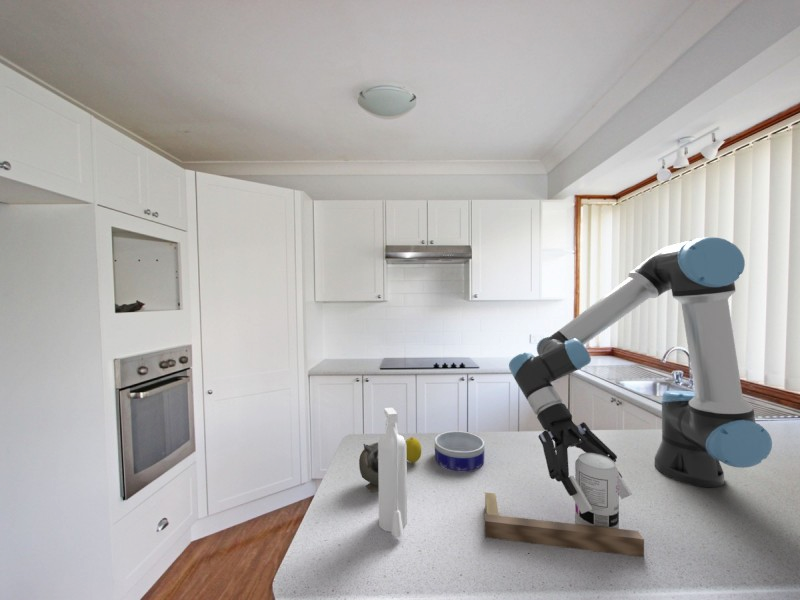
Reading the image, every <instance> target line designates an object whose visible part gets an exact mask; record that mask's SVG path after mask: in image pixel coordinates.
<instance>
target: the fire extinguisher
mask: <svg viewBox="0 0 800 600" xmlns="http://www.w3.org/2000/svg"><path fill="white" fill-rule="evenodd" d="M383 409H384V415H385V418H386V421H385V434H384V435H382V436H380V438H379V440H378V478H379V493H378V524H379V527H380V528H381V529H382V530H383V531H385V532H390V533H391V535H392V536H396V537H401V536H402V535H403V534H404V532H405V531H404V529H405V528H406V526H407V525H408V486H407V485H408V473H407V471H408V470H407V466H408V464H407V463H408V462H407V445H406V442H405V441H406V440H405V438H404V436H403V435H401V434H399V433H398V426H397V423H399V419H398V413H397V411H396V410H395V409H394V407H384V408H383Z"/></svg>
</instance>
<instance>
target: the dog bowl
mask: <svg viewBox="0 0 800 600" xmlns="http://www.w3.org/2000/svg"><path fill="white" fill-rule="evenodd" d="M485 445H486V443H485V441H484V439H483V438H482V437H480V436H478V435H476V434H474V433H471V432H467V431H460V430H451V431H450V430H449V431H446V432H445V431H444V432H442V433H439V434H438V435H436V436H435V438H434V457H435V459H434V460H435V462H436V463H437V464H438V465H439V466H440V467H442V468H443V469H447V470H449V471H453V472H461V473H462V472H463V473H465V472H473V471H477V470H479V469H481V468H482V467H483V466H484V464H485V447H486V446H485Z"/></svg>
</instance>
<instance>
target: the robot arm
mask: <svg viewBox="0 0 800 600" xmlns="http://www.w3.org/2000/svg"><path fill="white" fill-rule="evenodd" d="M745 266H746V263H745V257H744V254H743V253H742V251H741V249H740V248H739V247H738V246H737V245H736V244H734V242H730V241H729V240H727V239H725V238H721V237H713V236H712V237H700V238H699V237H698V238H695V239H690V240H687V241H684V242H683V241H682V242H680V243H676V244H675V243H674V244H671V245H667V246H665V247H663V248H661V249H659V250H658V251H656V252H655V253H654V254H652V255H651V256H649V257H648V258H647V259H645V261H643V262H642V263H640V265H637V267H635V268H634V269H632V270H631V271H630V272H629V273H628V278H627V279H626V280H624V281H623V282H621V283H620V284H619V285H618V286H616V287H614V288H613V289H612V290H611V291H609V292H608V293H606V294H605V295H604V296H603V297H602V298H600V299H599V300H598V301H596V302H595V303H593V304H592V305H591V306H589V307H587V309H585V310H584V311H583V312H581V313H580V314H578V315H577V316H576V317H575V318H573V319H571V320H570V321H569V322H567V323H566V325H564V326H562V327H561V328H560V329H558V330H557V331H555V332H554V333H553V334H552V335H550V336H546V337H543V338H541V339H540V340H539V341H538V343H537V345H536V353H537V354H538V355H536V356H535V355H533V354H532V353H531V352H527V351H526V352H523V353H519V354H517V355H515V356H514V357H513V358H512V359H511V360H509V364H508V368H509V371H510V373H511V374H512V376H513V379H514V380H515V383H516V384H517V385H518V387H519V388H520V390H521V392H522V394H523V395H524V397H525V399H526V400H527V402H528V405H529V406H530V407H531V409H532V411H533V413H534V414H535V415H536V416H537V417H536V419H537V420H538V421H539V423H540V424H541V427H542V429H543V431H542V432H541V433H540V434H539V435H538V440H540V443H541V445H542V449H543V454H544V458H545V461H546V465H547V466H546V467H547V470H548V475H549V478H550V479H552V480H556V481H557V482H558V483H560V482H561V483H562V485H563V487H564V489H565V490H566V492H567V494H568V495H569V496H570V497H572V499H573V501H574V503H576V505H577V506H578V508H579V510H580V512H581V514H582V513H585V512H587V511H589V510H592V507H591V505H590V504H589V502H588V500H587V499H586V497H585V495H584V493H583V492H582V490H581V488H580V486H579V485H578V483H577V481H576V480H575V475H570V472H569V471H570V469H569V455H568V448H572V447H573V448H574V447H575V448H577V449H580V450H582V452H583V453H595V454H599V455H603V456H606V457H608V458H610V459H611V460H613V461H614V462H615V463H616V462H617V459H618V456H617V454H615V453H614V452H613V451H612V450H611V449H610V448H609V447H608V446H607V445H606V443H604V442H603V441H602V439H600V438H599V437H598V436H597V435H596V434H595V433H593V431H592V430H591V429H590V427H589V426H588V425H587V423H586V422H581V423H580V424H578V425H577V424H575V423H574V422H573V414H572V413H571V411H570V410H569V408H568V407H567V405H566V404H565V403H563V399H562V397H561V396H560V394H559V393H558V392H557V390H556V389H555V387H554V385H553V384H552V382H555V381H557V380H560V379H561V378H563V377H566V376H567V375H570V374H572V373H575V372H576V371H578V370H582V369H583V368H584V367H586V366H587V365H589V364H590V363H591V361H592V358H591V356H590V355H591V354H590V353H589V352H588V349H587V348H586V346H585V345H586V344H587V343H588V342H590V341H591V340H593V339H594V338H596V337H597V336H599V335H600V334H601V333H603V332H604V331H605V330H607V329H609V327H611V326H612V325H614V324H615V323H616V322H619V320H621V319H622V318H624V317H625V316H626V315H628V314H630V312H632V311H633V310H635V309H636V308H637V307H639V306H640V305H642V304H643V303H645V302H646V301H647V300H649V299H656V298H658V297H659V296H661V295H662V294H664V293H666V292H668V291H670V290H671V294H672V298H673V299H675V300H676V301H678V302H680V304H681V308H682V309H681V310H682V317H683V323H684V330H685V337H686V342H687V350H688V356H689V364H690V369H691V376H692V382H693V388H694V389H693V390H694V391H692V390H691V391H688V390H667V391H664V392H663V393H662V398H661V403H660V404H661V442H660V443H659V447H658V449H657V450H656V453H655V456H654V467H655V468H656V469H657V471H659V472H660V473H661V474H663V475H664V476H666V477H668V478H671V479H674V480H676V481H679V482H681V483H684V484H688V485H693V486H696V487H697V486H698V487H704V488H718V487H721V486H723V485H724V484H725V474H724V473H725V472H724V470H723V468H722V467H723V466H722V465H721V463H723V464H725V465H726V466H730V467H733V468H740V469H744V468H751V467H755V466H757V465H759V464H761V463H762V461H763V460H766V459H767V458H768V457H769V455H770V454H771V451H772V448H773V441H772V437H771V434H770V433H769V432H768V430H766V429H765V427H764V426H762V425H761V424H760V423H757V422H756V417H755V411H754V410H755V409H754V406H753V405H752V404H751V403H749V402H748V401H746V399H744V397H743V391H742V384H741V378H740V369H739V364H738V358H737V352H736V345H735V344H736V343H735V338H734V337H735V336H734V333H733V332H734V331H733V324H732V317H731V311H730V305H729V299H730V297H731V296H732V295H734V294H735V293H736V285H735V282H736V281H737V280H739V278H740V275H742V274H743V272H744V270H745ZM618 472H619V498H620V499H621V500H623V499H626V498H627V497H629V496H633V492H632V491H631V489H630V488H629V486H628V484H626V482H625V480H624V479H623V476H622V474H621V472H620V471H619V470H618Z"/></svg>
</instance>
